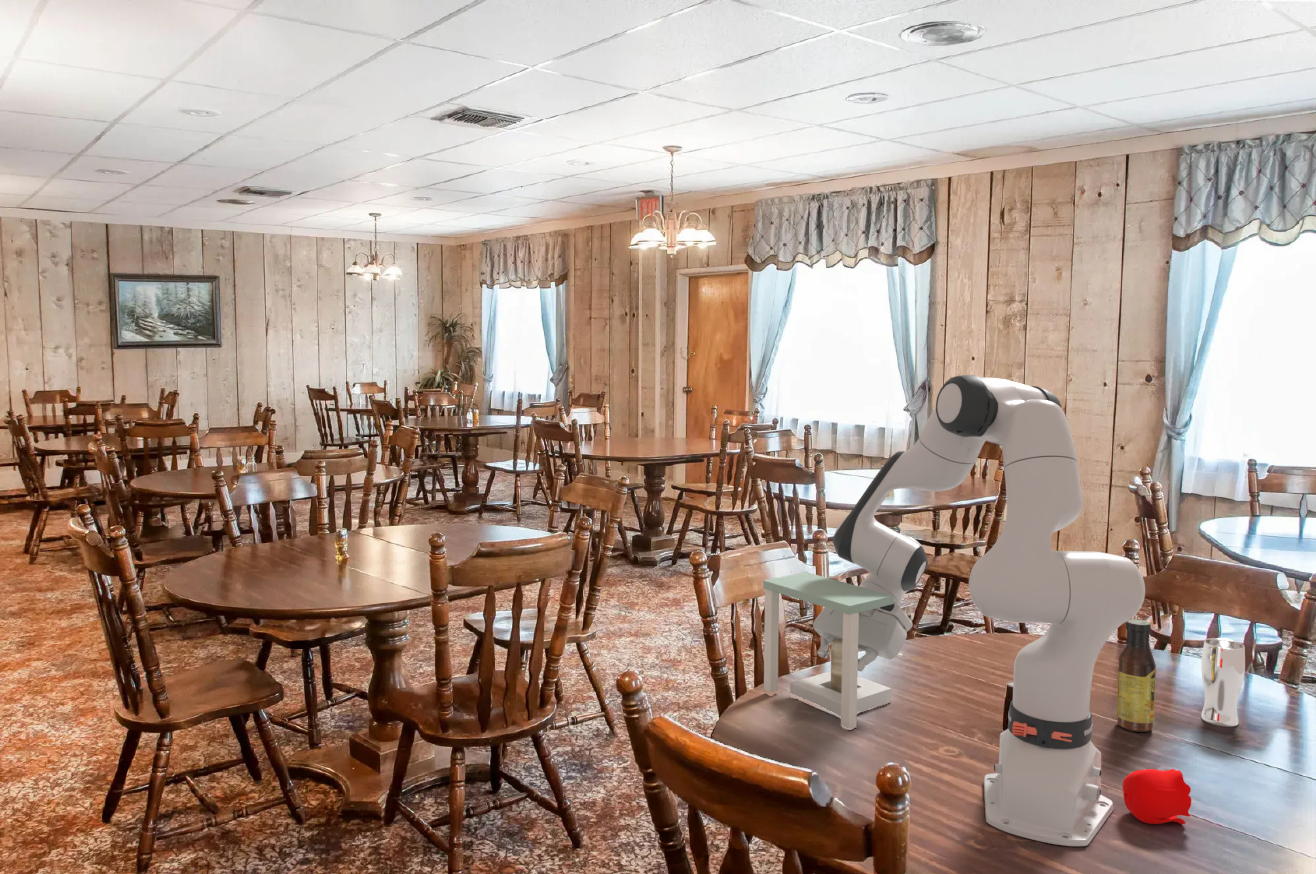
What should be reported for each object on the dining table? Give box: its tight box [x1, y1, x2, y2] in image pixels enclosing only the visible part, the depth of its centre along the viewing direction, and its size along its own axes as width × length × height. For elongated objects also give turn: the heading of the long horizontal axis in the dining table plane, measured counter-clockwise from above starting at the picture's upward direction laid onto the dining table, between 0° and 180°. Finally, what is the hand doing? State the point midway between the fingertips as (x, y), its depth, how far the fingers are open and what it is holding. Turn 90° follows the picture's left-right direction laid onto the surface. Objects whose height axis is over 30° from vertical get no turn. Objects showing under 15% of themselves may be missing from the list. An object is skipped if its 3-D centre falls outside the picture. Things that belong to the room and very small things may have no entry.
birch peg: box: [830, 639, 843, 693], centre depth 186 cm, size 4×4×12 cm
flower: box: [1122, 768, 1192, 825], centre depth 139 cm, size 8×8×8 cm
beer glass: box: [1200, 637, 1246, 728], centre depth 176 cm, size 7×7×15 cm
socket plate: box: [789, 670, 892, 716], centre depth 186 cm, size 14×14×3 cm
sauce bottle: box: [1116, 618, 1157, 733], centre depth 173 cm, size 7×6×20 cm
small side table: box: [762, 571, 893, 728], centre depth 183 cm, size 12×23×24 cm, turn 36°
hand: (838, 662), depth 185 cm, fingers open, 8 cm apart
